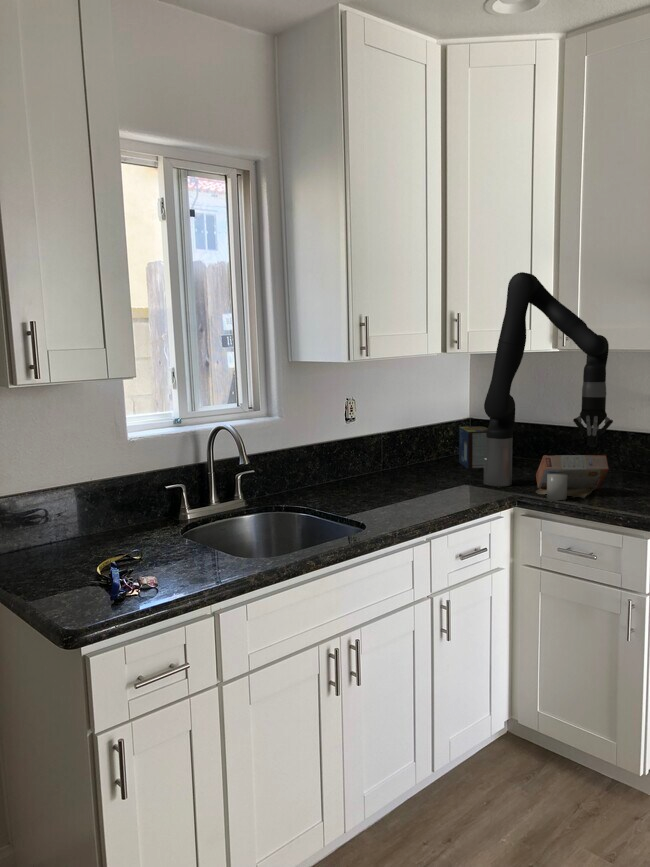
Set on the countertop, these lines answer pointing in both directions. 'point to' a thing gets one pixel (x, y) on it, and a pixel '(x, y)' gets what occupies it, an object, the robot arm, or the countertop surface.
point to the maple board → (571, 491)
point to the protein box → (472, 446)
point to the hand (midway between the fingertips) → (592, 446)
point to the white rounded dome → (557, 486)
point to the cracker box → (574, 469)
